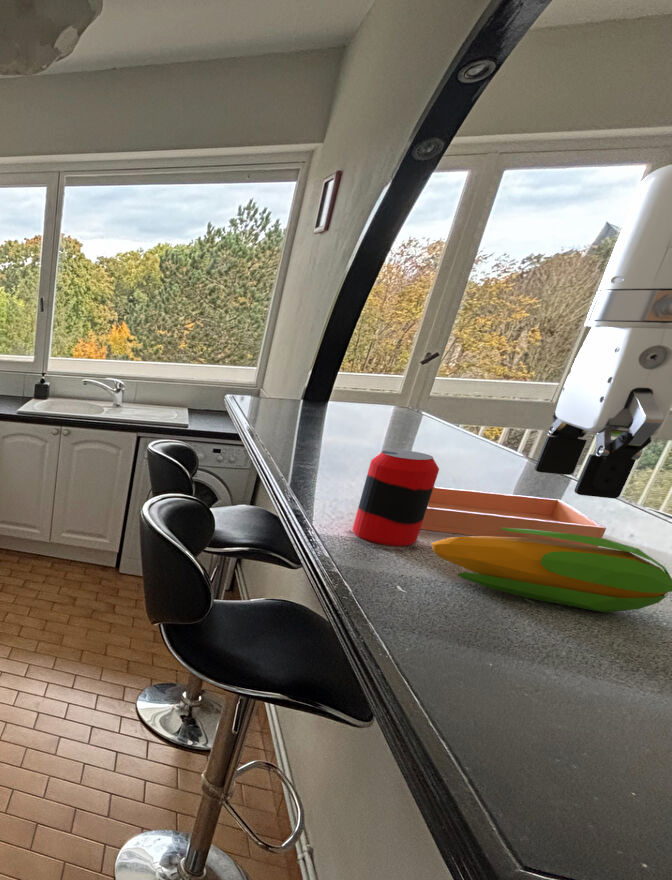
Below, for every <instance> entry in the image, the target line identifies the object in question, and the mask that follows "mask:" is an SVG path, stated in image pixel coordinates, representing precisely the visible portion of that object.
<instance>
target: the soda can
mask: <svg viewBox="0 0 672 880" xmlns="http://www.w3.org/2000/svg"><path fill="white" fill-rule="evenodd" d="M439 471H440V467H439V466H438V464H437V462H436V461H435V459H434V456H433V455H430V454H427V453H423V452H419V451H413V450H404V449H384V450H382V451H381V452H380V453H379V454H377V455H375V456H374V457H373V458H371V460H370V464H369V466H368V471H367V475H366V477H365V482H364V486H363V489H362V491H361V497H360V500H359V504H358V507H357V511H356V515H355V518H354V522H353V525H352V532H353V533H354V535H355V536H356V537H358V538H360V539H362V540H365V541H368V542H371V543H374V544H377V545H378V544H379V545H385V546H391V547H406V546H407V547H408V546H411V545H413V544H414V543H416V542H417V541H418V537H419V534H420V531H421V529H420V528H421V525H422V522H423V519H424V515H425V512H426V509H427V506H428V503H429V500H430V497H431V493H432V490H433V487H435V484H436V481H437V477H438V474H439Z"/></svg>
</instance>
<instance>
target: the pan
mask: <svg viewBox="0 0 672 880" xmlns="http://www.w3.org/2000/svg"><path fill="white" fill-rule="evenodd" d="M501 528H516V529H532V530H541V531H550V532H558V533H567V534H574V535H582V536H589V537H596V538H603V537H604V534H605V533H606V531H607V527H605V526H603V525H602V524H600V523H598V522H597V521H596V520H594V519H592V518H591V517H590V516H587V514H584V513H583V512H581V511H579V509H577V508H575V507H573V506H572V505H570V504H568V503H567V502H566V501H564V500H562V499H559V498H557V499H556V498H549V497H548V498H547V497H539V496H528V495H517V494H508V493H497V492H489V491H479V490H468V489H458V488H450V487H439V486H434V487H433V490H432V493H431V497H430V500H429V503H428V506H427V509H426V512H425V515H424V519H423V522H422V525H421V528H420V530H426V531H432V532H440V533H441V532H442V533H449V534H456V535H457V534H458V535H465V536H493V537H518V538H536V539H543V540H550V541H557V542H564V543H571V544H578V545H585V546H592V547H599V546H596V545H591V544H586V543H581V542H576V541H571V540H565V539H559V538H554V537H548V536H542V535H536V534H528V533H519V532H511V531H505V530H502V529H501Z"/></svg>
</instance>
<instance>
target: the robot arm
mask: <svg viewBox="0 0 672 880" xmlns="http://www.w3.org/2000/svg"><path fill="white" fill-rule="evenodd" d="M597 290H598V291H596V295H595V297H594V299H593V302H592V305H591V306H590V309H589V312H588V314H587V318H586V320H585V322H584V325H583V327H591V329H590V330H589V332H588V334H587V336H586V338H585V340H584V342H583V344H582V346H581V347H580V350H579V352H578V354H577V356H576V358H575V359H574V363H573V364H572V367H571V368H570V371H569V373H568V375H567V377H566V380H565V383H564V385H563V387H562V390H561V393H560V395H559V398H558V400H557V404H556V408H555V412H554V413H553V415H552V419H553V422H552V424H551V425H549V428H548V430H547V436H546V438H545V441H544V442H543V446H542V449H541V450H540V454H539V456H538V458H537V461H536V463H535V467H534V470H535V471H536V472H538V473H543V474H553V475H554V474H555V475H565V476H570V475H572V474H574V472H575V470H576V468H577V466H578V463H579V460H580V458H581V457H582V456H581V455H582V453H583V451H584V449H585V446H586V444H587V441H588V440H587V439H586V438H584V437H585V436H586V435H587V434H588V433H593V434H595V454H589V455H588V456H587V459H586V461H585V463H584V466H583V468H582V470H581V473H580V476H579V478H578V480H577V482H576V485H575V487H574V490H573V491H574V493H575V494H577V495H579V496H585V497H596V498H605V499H618V498H619V497H620V496H621V494H622V493H623V492H622V491H623V490H624V488H625V485H626V484H627V481H628V479H629V477H630V474H631V472H632V470H633V467H634V466H635V463H636V461H637V460H639V459H640V458H641V457H642V455H643V451H644V450H643V449H645V448H646V447H647V446H648V445H649V444H650V443H651V442H652V437H653V436H655V435H657V434H659V433H661V431H662V430H663V428H664V425H665V423H666V421H667V419H668V416H669V414H670V412H671V409H672V164H668V165H665V166H662V167H659V168H657V169H655V170H653V171H652V172H650V173H648V174H647V176H645V178H643V180H642V181H641V182H640V184H639V186H638V188H637V190H636V192H635V194H634V196H633V199H632V202H631V204H630V207H629V210H628V212H627V215H626V217H625V220H624V223H623V225H622V227H621V230H620V233H619V235H618V238H617V241H616V242H615V245H614V248H613V251H612V253H611V256H610V259H609V261H608V264H607V265H606V268H605V271H604V274H603V276H602V279H601V282H600V284H599V286H598V289H597ZM612 437H616V438H614V440H612Z"/></svg>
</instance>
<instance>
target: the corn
mask: <svg viewBox="0 0 672 880" xmlns="http://www.w3.org/2000/svg"><path fill="white" fill-rule="evenodd" d="M501 529H502V530H505V531H511V532H519V533H528V534H536V535H542V536H548V537H554V538H559V539H565V540H571V541H576V542H581V543H586V544H591V545H596V546H598V547H592V546H585V545H578V544H571V543H564V542H557V541H550V540H543V539H536V538H518V537H493V536H472V535H467V536H454V537H453V536H452V537H451V536H450V537H446V538H443V539H439V540H437V541H433V542H430V545H431V548H432V552H433V553H434V554H436V556H437V557H438V558H440V559H441V560H444V561H446V562H449V563H452V564H454V565H456V566H459V567H461V568H463V569H466V570H468V571H471V572H468V571H464V572H463V571H462V572H459V573H458V574H457V577H459V578H462V579H464V580H466V581H469V582H471V583H474V584H477V585H479V586H483V587H485V588H488V589H490V590H491V589H492V590H495V591H499V592H503V593H507V594H511V595H513V596H518V597H523V598H528V599H531V600H536V601H542V602H547V603H552V604H558V605H562V606H568V607H574V608H578V609H583V610H588V611H593V612H600V613H604V614H605V613H613V612H615V613H616V612H624V611H632V610H633V611H634V610H641V609H643V608H646V607H650V606H652V605H656V604H659V603H661V601H663V600H664V599H665V598H666V597H668V596H669V594H671V593H672V577H671V575H670V573H669V572H668V570H667V568H666V567H665V566H664V565H663V564H661V563H660V562H658V561H657V560H656V559H654V558H653V557H651V556H650V555H649V554H647V553H645V552H644V551H643V550H641V549H640V548H637V547H634V546H630V545H626V544H623V543H621V542H617V541H614V540H610V539H607V538H603V537H602V538H596V537H589V536H582V535H574V534H567V533H558V532H550V531H541V530H532V529H516V528H501ZM652 562H653V563H652Z"/></svg>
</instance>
